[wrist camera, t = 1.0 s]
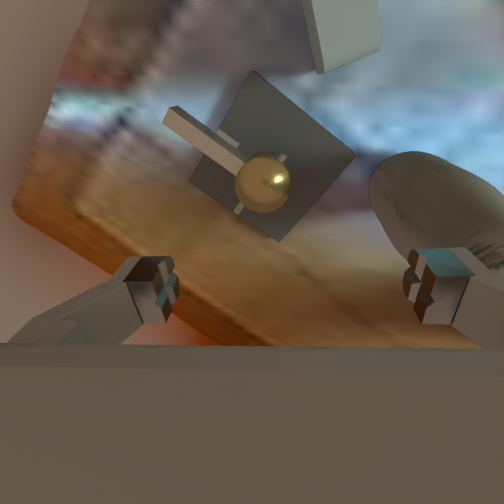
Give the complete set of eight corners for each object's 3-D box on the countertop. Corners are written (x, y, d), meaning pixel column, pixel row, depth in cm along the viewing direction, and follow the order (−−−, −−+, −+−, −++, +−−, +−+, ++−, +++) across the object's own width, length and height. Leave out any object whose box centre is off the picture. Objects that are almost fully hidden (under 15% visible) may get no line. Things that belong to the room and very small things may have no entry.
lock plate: (354, 152, 42) (362, 162, 37) (279, 237, 51) (277, 254, 46) (254, 70, 38) (247, 69, 33) (192, 177, 47) (180, 189, 42)
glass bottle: (355, 206, 46) (420, 341, 22) (375, 139, 41) (489, 224, 17) (418, 214, 45) (553, 362, 22) (447, 147, 40) (668, 247, 16)
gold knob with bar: (305, 167, 38) (306, 176, 34) (267, 214, 42) (264, 226, 38) (191, 79, 34) (179, 80, 31) (162, 141, 38) (149, 147, 35)
